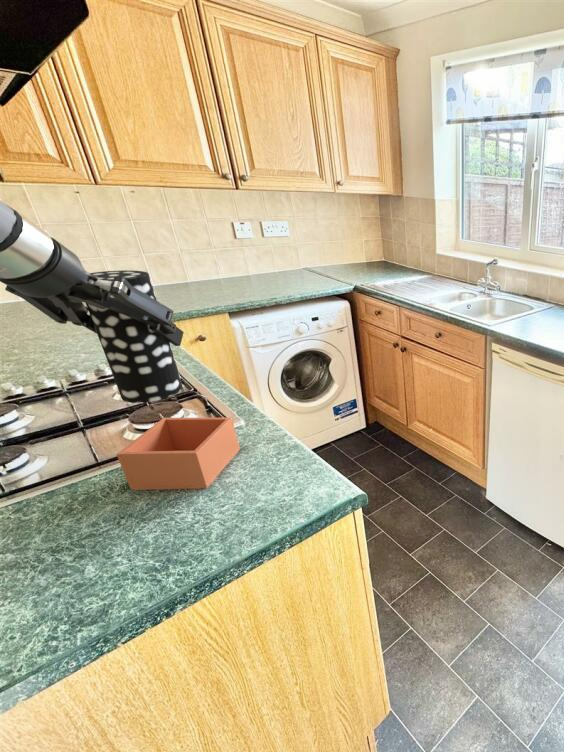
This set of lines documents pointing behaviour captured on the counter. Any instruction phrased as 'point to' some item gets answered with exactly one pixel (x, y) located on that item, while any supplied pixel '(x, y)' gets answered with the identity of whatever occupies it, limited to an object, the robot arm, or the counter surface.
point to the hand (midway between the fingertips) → (150, 338)
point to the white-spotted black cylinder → (135, 348)
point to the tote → (179, 453)
